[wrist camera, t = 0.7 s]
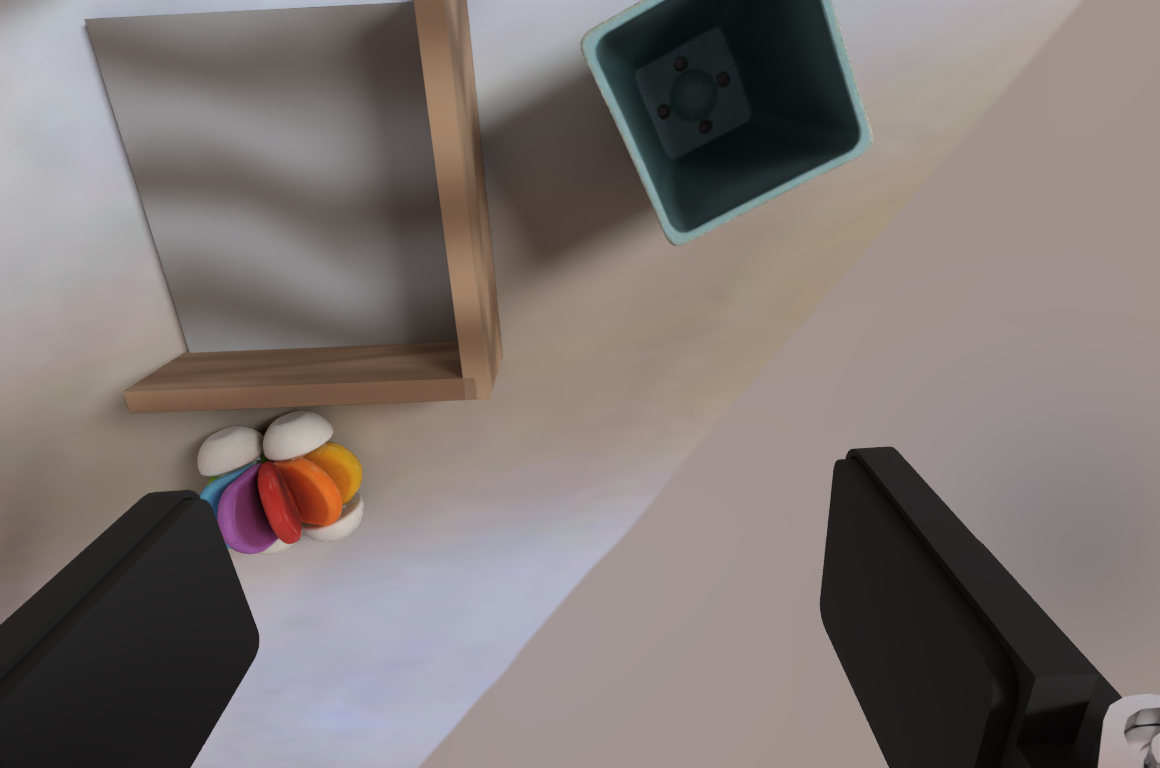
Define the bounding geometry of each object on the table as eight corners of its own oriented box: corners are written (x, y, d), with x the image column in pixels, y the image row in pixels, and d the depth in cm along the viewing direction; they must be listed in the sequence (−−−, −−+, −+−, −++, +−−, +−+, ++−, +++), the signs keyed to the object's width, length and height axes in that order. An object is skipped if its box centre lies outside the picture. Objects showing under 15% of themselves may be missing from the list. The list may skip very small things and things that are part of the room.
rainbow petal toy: (391, 505, 42) (355, 580, 36) (258, 533, 43) (199, 611, 37) (342, 393, 39) (293, 453, 32) (199, 426, 40) (122, 491, 33)
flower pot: (805, 137, 33) (880, 148, 25) (650, 216, 34) (672, 252, 26) (743, -42, 30) (805, -97, 21) (576, 55, 31) (574, 38, 23)
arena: (79, -1, 30) (-33, -24, 25) (464, -22, 30) (438, -49, 24) (195, 368, 38) (130, 413, 33) (502, 356, 38) (489, 398, 32)
